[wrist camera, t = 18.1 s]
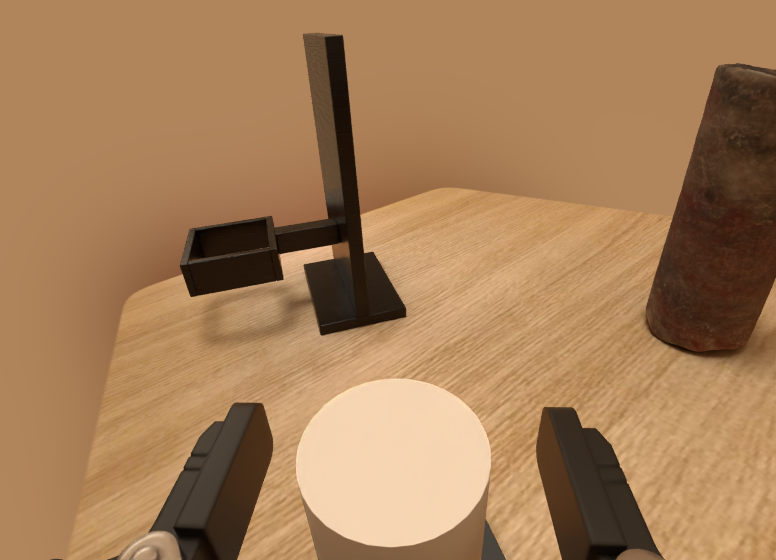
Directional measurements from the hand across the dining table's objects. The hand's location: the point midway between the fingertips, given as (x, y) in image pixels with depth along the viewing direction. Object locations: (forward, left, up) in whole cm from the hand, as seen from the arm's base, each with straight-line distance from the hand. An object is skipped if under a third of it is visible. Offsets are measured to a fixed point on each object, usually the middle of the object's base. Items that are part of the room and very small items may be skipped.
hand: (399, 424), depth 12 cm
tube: (-1, -2, -13) cm, 14 cm away
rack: (-2, +29, -14) cm, 32 cm away
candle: (+29, +13, -14) cm, 35 cm away
